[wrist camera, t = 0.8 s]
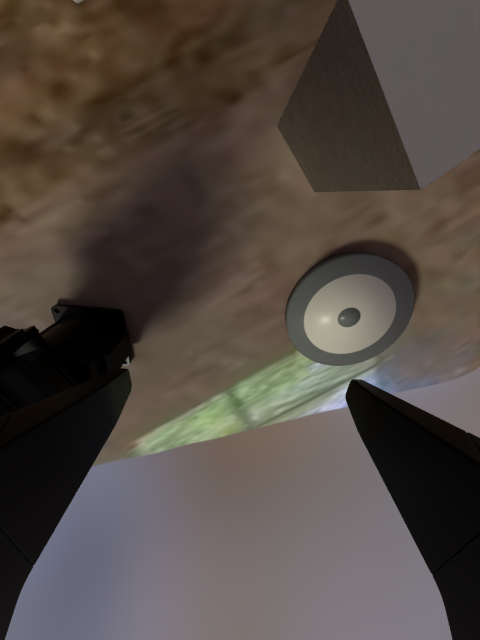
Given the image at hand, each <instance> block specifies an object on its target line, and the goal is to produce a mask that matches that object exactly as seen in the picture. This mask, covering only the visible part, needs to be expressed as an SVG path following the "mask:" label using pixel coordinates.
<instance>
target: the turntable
mask: <svg viewBox="0 0 480 640" xmlns="http://www.w3.org/2000/svg"><path fill="white" fill-rule="evenodd" d="M413 308H414V291H413V287H412V284H411V282H410V279H409V278H408V276H407V275H406V273H405V272H404V271H403V270H402V269H401V268H400V267H398V266H397V265H396V264H394V263H392V262H390V261H388V260H386V259H384V258H382V257H380V256H377V255H374V254H370V253H364V252H352V253H344V254H340V255H336V256H333V257H330V258H328V259H326V260H324V261H322V262H320V263H318V264H317V265H315V266H314V267H312V268H311V269H310V270H309V271H308V272H306V273H305V274H304V275H303V276H302V277H301V278H300V280H299V281H298V282H297V284H296V285H295V286H294V288H293V290H292V292H291V294H290V296H289V298H288V301H287V305H286V311H285V321H286V326H287V330H288V333H289V336H290V339H291V341H292V342H293V344H294V346H295V347H296V348H297V350H298V351H299V352H300V353H301V354H303V355H304V356H306V357H307V358H309V359H311V360H312V361H315V362H318V363H321V364H325V365H332V366H342V365H350V364H355V363H359V362H362V361H365V360H368V359H370V358H372V357H374V356H376V355H378V354H379V353H381V352H383V351H384V350H385V349H387V348H388V347H389V346H390V345H392V344H393V343H394V342H395V341H396V340H397V339H398V338H399V336H400V335H401V334H402V332H403V331H404V330H405V328H406V326H407V325H408V323H409V320H410V318H411V316H412V312H413Z"/></svg>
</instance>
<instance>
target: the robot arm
mask: <svg viewBox="0 0 480 640" xmlns="http://www.w3.org/2000/svg"><path fill="white" fill-rule="evenodd" d="M57 309H59V311H58V310H57ZM51 311H52V314H53V317H54V320H55V323H54V324H52V325H51V326H49V327H48V328H46V329H45V330H44V331H42V332H41V333H38V332H39V330H38V329H37V328H36V327H35V326H31V327H29V328H26V329H24V330H23V329H14V328H11V327H8V326H3V327H1V328H0V640H5V637H6V634H7V631H8V628H9V624H10V621H11V618H12V615H13V612H14V609H15V606H16V603H17V600H18V597H19V595H20V592H21V590H22V588H23V585H24V583H25V581H26V579H27V577H28V575H29V573H30V572H31V570H32V568H33V565H34V564H35V563H36V561H37V559H38V558H39V556H40V554H41V553H42V551H43V549H44V547H45V546H46V544H47V542H48V540H49V539H50V537H51V535H52V534H53V532H54V530H55V528H56V527H57V525H58V523H59V521H60V520H61V518H62V516H63V514H64V513H65V511H66V509H67V508H68V506H69V504H70V503H71V501H72V499H73V497H74V496H75V493H76V492H77V490H78V489H79V487H80V485H81V484H82V482H83V480H84V478H85V477H86V475H87V473H88V472H89V470H90V468H91V466H92V465H93V463H94V461H95V460H96V458H97V456H98V454H99V453H100V451H101V449H102V447H103V446H104V444H105V442H106V441H107V439H108V437H109V435H110V434H111V432H112V430H113V429H114V427H115V425H116V423H117V421H118V419H119V417H120V415H121V412H122V410H123V408H124V405H125V403H126V401H127V399H128V396H129V394H130V392H131V388H132V383H131V378H130V374H129V370H128V369H124V368H121V366H128V365H129V364H130V363H131V356H130V354H131V346H130V340H129V333H128V331H127V330H126V325H125V318H124V314H123V312H122V311H121V310H118V309H108V308H97V307H85V306H74V305H62V304H56V305H54V306H53V307H52V308H51ZM116 314H118V315H119V316H117V315H116ZM125 361H127V362H125ZM346 402H347V404H348V407H349V409H350V412H351V415H352V417H353V420H354V422H355V425H356V427H357V430H358V432H359V434H360V436H361V438H362V440H363V442H364V444H365V446H366V448H367V450H368V452H369V454H370V456H371V458H372V460H373V462H374V463H375V465H376V467H377V469H378V471H379V473H380V475H381V477H382V479H383V481H384V483H385V485H386V487H387V489H388V491H389V492H390V494H391V496H392V498H393V500H394V502H395V504H396V506H397V508H398V510H399V512H400V514H401V516H402V518H403V519H404V521H405V524H406V525H407V527H408V529H409V531H410V533H411V535H412V537H413V539H414V541H415V543H416V545H417V547H418V549H419V551H420V552H421V554H422V556H423V558H424V560H425V562H426V564H427V566H428V568H429V570H430V572H431V573H432V574H433V578H434V580H435V582H436V584H437V586H438V588H439V590H440V593H441V596H442V599H443V602H444V605H445V609H446V614H447V618H448V622H449V626H450V631H451V634H452V639H453V640H480V438H479V437H477V436H475V435H473V434H471V433H466V432H465V431H464V430H462V429H460V428H458V427H455V426H454V425H452V424H450V423H448V422H446V421H444V420H441V419H440V418H438V417H436V416H434V415H432V414H430V413H428V412H426V411H423V410H421V409H420V408H417V407H415V406H414V405H411V404H410V403H408V402H406V401H404V400H402V399H399V398H397V397H395V396H393V395H391V394H389V393H387V392H385V391H383V390H381V389H379V388H377V387H375V386H373V385H371V384H369V383H367V382H365V381H363V380H357V379H353V380H351V382H350V384H349V387H348V389H347V392H346Z"/></svg>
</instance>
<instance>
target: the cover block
mask: <svg viewBox="0 0 480 640" xmlns="http://www.w3.org/2000/svg"><path fill="white" fill-rule="evenodd" d="M277 127H278V129H279V130H280V132H281V134H282V136H283V137H284V139H285V141H286V143H287V144H288V146H289V148H290V150H291V151H292V153H293V155H294V157H295V159H296V160H297V162H298V164H299V166H300V167H301V169H302V171H303V173H304V174H305V176H306V178H307V180H308V181H309V183H310V185H311V187H312V189H313V190H314V192H343V191H388V190H421V189H423V188H424V187H425V186H427V185H428V184H430V183H431V182H433V181H434V180H435V179H437V178H438V177H440V176H441V175H443V174H444V173H445V172H447V171H448V170H450V169H451V168H453V167H454V166H456V165H457V164H458V163H460V162H461V161H463V160H464V159H466V158H467V157H468V156H470V155H471V154H473V153H474V152H476V151H477V150H478V149H480V0H337V2H336V4H335V6H334V8H333V11H332V13H331V15H330V17H329V19H328V21H327V23H326V25H325V27H324V29H323V31H322V33H321V35H320V37H319V39H318V42H317V44H316V46H315V48H314V50H313V52H312V54H311V56H310V58H309V60H308V62H307V64H306V66H305V68H304V70H303V73H302V75H301V77H300V79H299V81H298V83H297V85H296V87H295V89H294V91H293V93H292V95H291V97H290V99H289V102H288V104H287V106H286V108H285V110H284V112H283V114H282V116H281V118H280V120H279V122H278V124H277Z"/></svg>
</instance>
